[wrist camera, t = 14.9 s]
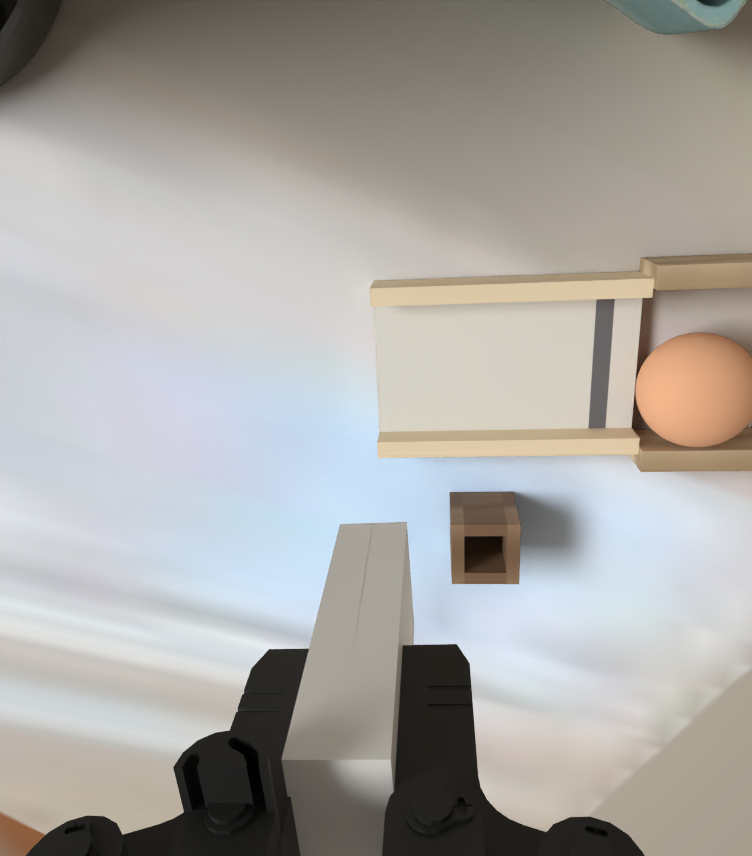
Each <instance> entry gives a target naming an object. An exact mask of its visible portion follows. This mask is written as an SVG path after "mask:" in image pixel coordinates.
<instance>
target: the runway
mask: <svg viewBox="0 0 752 856" xmlns="http://www.w3.org/2000/svg"><path fill="white" fill-rule="evenodd" d="M653 286H654V278H652V277H650V276H648V275H646V274H644V273H642V272H640V271H635V272H607V273H580V274H552V275H525V276H497V277H469V278H442V279H414V280H386V281H374V282H373V284H372V285H371V287H370V303H371V307H374V326H375V346H376V367H377V388H378V408H379V429H380V432H379V437H378V442H377V443H378V458H411V457H488V456H566V455H638V451H639V440H640V438H639V437H638V436H637V434H636V433H635V432H634V430H633V429H632V428H631V427H632V416H633V404H634V392H635V381H636V369H637V357H638V346H639V334H640V322H641V311H642V299H643V298H652V297H653Z"/></svg>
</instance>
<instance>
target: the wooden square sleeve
mask: <svg viewBox="0 0 752 856" xmlns="http://www.w3.org/2000/svg"><path fill="white" fill-rule="evenodd" d="M520 533H521V524H520V520H519V516H518V511H517V507H516V503H515V499H514V495H513V492H450V550H451V573H452V584H519V568H520ZM464 536H500V537H464Z"/></svg>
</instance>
